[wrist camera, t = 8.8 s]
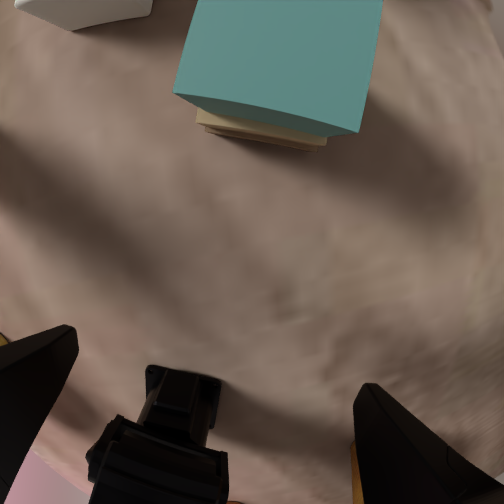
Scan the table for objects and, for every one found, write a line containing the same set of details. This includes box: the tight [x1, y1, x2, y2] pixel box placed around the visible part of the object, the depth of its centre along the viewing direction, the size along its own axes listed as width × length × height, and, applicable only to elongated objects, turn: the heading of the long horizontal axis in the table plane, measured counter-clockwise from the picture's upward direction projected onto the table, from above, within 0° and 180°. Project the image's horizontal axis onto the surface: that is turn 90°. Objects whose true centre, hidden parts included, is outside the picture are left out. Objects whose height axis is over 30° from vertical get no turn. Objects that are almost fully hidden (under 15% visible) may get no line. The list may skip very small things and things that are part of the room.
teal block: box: [172, 0, 383, 137], centre depth 9 cm, size 5×5×5 cm
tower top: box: [196, 107, 328, 146], centre depth 13 cm, size 6×6×4 cm
